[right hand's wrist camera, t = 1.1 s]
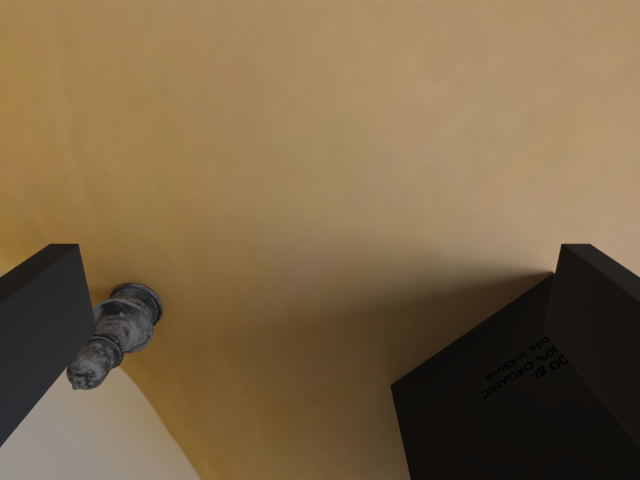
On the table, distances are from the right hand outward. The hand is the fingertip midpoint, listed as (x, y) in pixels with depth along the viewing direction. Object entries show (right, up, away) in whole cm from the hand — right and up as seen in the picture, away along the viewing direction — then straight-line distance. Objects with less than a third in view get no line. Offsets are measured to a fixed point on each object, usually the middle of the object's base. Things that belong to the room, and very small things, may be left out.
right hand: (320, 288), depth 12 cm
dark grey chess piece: (-18, -5, +32) cm, 37 cm away
